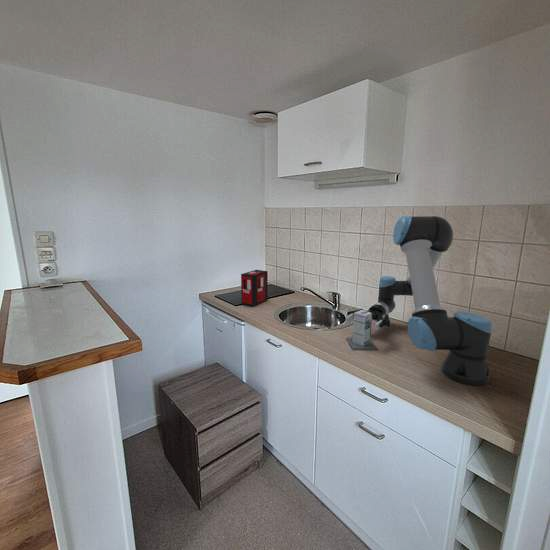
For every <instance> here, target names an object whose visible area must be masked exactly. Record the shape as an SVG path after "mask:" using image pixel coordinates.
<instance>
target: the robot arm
mask: <svg viewBox="0 0 550 550" xmlns="http://www.w3.org/2000/svg"><path fill="white" fill-rule="evenodd" d="M393 228H394V229H393V232H392V233H393V235H392V241H393V243H394V245H397V246H400V247H399V248H400V250H401V251H400V252H402V253H404V254H405V257H406V263H407V268H408V275H409V276H408V278H407V279H406V280H396V277H394V276H390V275H388V276H387V275H384V276H382V277H380V279H379V282H378V283H379V284H378V297H377V302H376V303H374V304H373V305H371V306H370V307H369V308H368V310H367V309H366V311H368V312H371V313H372V320H373V321H376V323H375V324H374V331H378V330H379V329H380V328H384V327H385V326H386V327H388V328H389V327H390V326H391V325H390V324H391V319H390V318H389V315H390V313H392V312H393V311H394V309H396V302H395V296H410V297H411V296H412V297H413V303H414V307H415V308H414V310H413V312H412V313H411V317H410V318H409V319H408V321H407V325H408V326H407V332H408V336H409V339H410V341H411V343H412V344H413V345H414V347H416V348H417V349H419V350H423V351H424V350H425V351H434V350H435V351H440V350H441V351H443V350H444V351H448V353H447V355H446V357H445V358H444V360H443V361H442V364H441V372H442V374H444V375H445V376H446V377H447V378H449V379H451V380H453V381H455V382H458V383H460V384H463V385H469V386H475V387H476V386H479V387H480V386H485V385H487V384H489V382H490V379H491V378H490V377H491V376H490V370H489V365H488V361H487V358H488V353H489V346H490V340H491V336H492V328H493V327H492V326H493V325H492V322H491V321H490V320H489V319H488V318H485V317H484V316H483V315H478V314H475V313H473V312H472V313H471V312H467V311H459V310H458V311H455V312H454V313H453V316H448V312H447V310H446V309H445V308H444V307H442V306H441V301H440V297H439V293H438V287H437V286H438V285H437V281H436V277H435V273H434V268H435V266H436V264H437V262H439V259H440V258H441V256H442V255H443V253H445V252H447V251H448V250H449V248H450V247H451V244H452V243H453V239H454V231H453V228H452V226H451V224H450V222H449V221H448V220H446V218H444V217H441V216H438V215H433V216H432V215H431V216H429V215H428V216H422V215H421V216H418V215H417V216H416V215H415V216H412V215H408V216H401V217H399V218H398V219H397V221H396V223H395V225H394V227H393ZM361 310H364V308H360V309H354V310H349V311H347V312H346V317H345V324H348V323H350V322H352V321H354V313H355V312H358V311H361Z"/></svg>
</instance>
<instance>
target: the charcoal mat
mask: <svg viewBox="0 0 550 550" xmlns="http://www.w3.org/2000/svg"><path fill="white" fill-rule="evenodd" d="M345 340H346V342H347V343H348V345H349V347H350V349H351V350H352V351H378V347H377V346H376V344H375V343H374V341H373V340H372V339H371V338H370V343H368V344H366V345H364V346H361V345H358V344H356V343H353V337H346V338H345Z"/></svg>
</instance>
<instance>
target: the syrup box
mask: <svg viewBox="0 0 550 550" xmlns="http://www.w3.org/2000/svg"><path fill="white" fill-rule="evenodd" d="M372 320H373V319H372V313H371V312H368V311H367V310H364V309H363V310H361V311H358V312H355V313H354V318H353V327H352V338H353V343H356V344H358V345H361V346H364V345H366V344H368V343H370V339H371V337H372Z"/></svg>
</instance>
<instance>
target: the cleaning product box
mask: <svg viewBox="0 0 550 550" xmlns="http://www.w3.org/2000/svg"><path fill="white" fill-rule="evenodd" d="M240 283H241V284H240V286H241V288H240V289H241V306H246V307H250V308H254V307H257V306H259V305H261V304H263V303H265V302H268V300H269V299H268V298H269V297H268V296H269V295H268V292H269V291H268V288H269V287H268V270H263V269H262V270H261V269H255V270H254V269H253V270H251V271H248V272H247V271H246V272H243V273H241V274H240Z"/></svg>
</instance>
